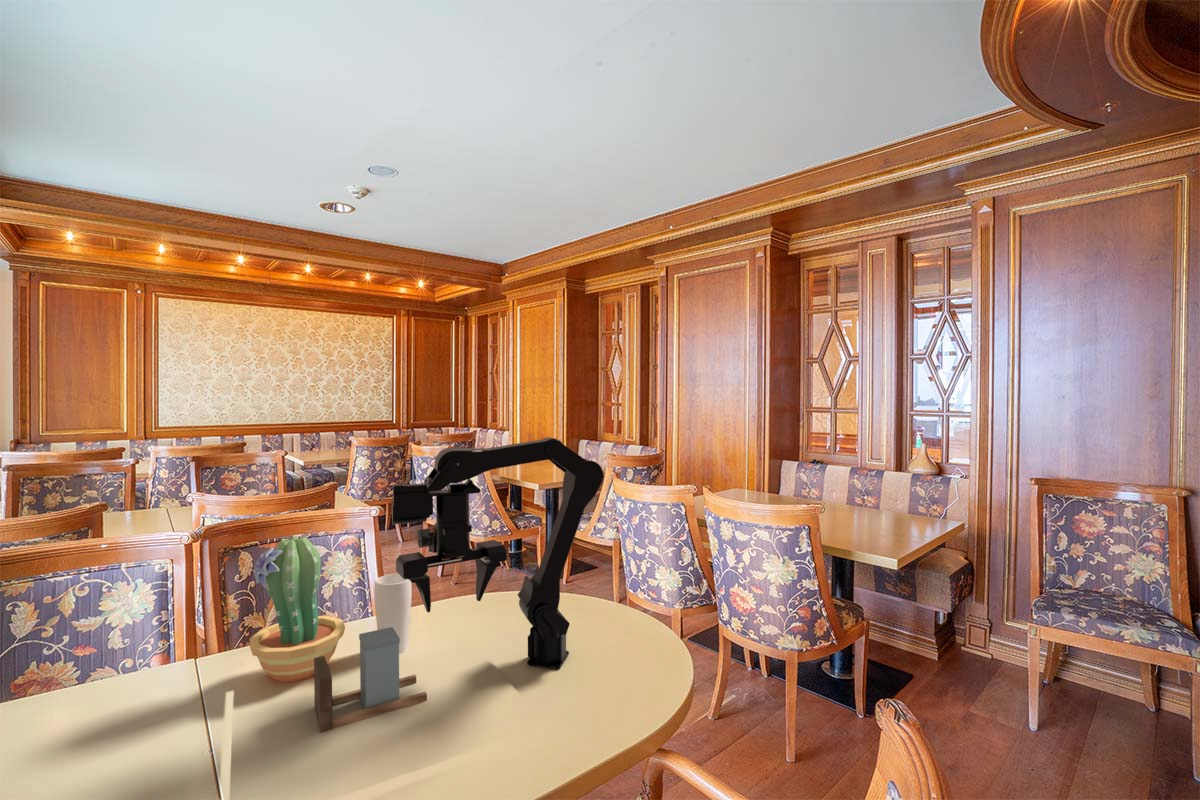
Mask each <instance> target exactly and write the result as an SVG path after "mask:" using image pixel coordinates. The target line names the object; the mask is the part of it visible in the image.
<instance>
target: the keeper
mask: <svg viewBox="0 0 1200 800" xmlns="http://www.w3.org/2000/svg"><path fill="white" fill-rule="evenodd" d="M358 637H359V638H358V640H359V662H360V663H359V664H360V665H359V666H360V667H359V668H360V670H359V671H360V672H359V675H360V677H359V678H360V681H359V684H360V688H359V689H361V698H360V701H361V703H362V705H363V709H366V708H369V707H373V706H376V705H380V704H383V703H387V702H390V701H394V700H397V699H400V687H399V679H400V654H399V643H400V638H399V636H398V635H397V633H396V632H395V630H394V629H393V627H390V628H385V629H380V630H371V631H367V632H363V633H359V634H358Z"/></svg>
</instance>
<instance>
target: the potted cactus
mask: <svg viewBox="0 0 1200 800" xmlns="http://www.w3.org/2000/svg"><path fill="white" fill-rule="evenodd" d="M321 561H322V555H321V554H320V552H319V551H318V548H316V546H315V545H314V544H313V543H312V542H311V541H310V540H309V539H308V538H307V537H306V536H301V537H298V536H295V535H294V536H292V537H291V538H290V539H288V538H282V539H281V540H280V541H279V542H278V543H277V546H276V548H275V547H272V548H270V549H268V550H266V551H265V552H263V553H262V554H260V556H259V557H258V558H257V560H256V563H255V564H254V566H253V571H252V572H253V576H254V577H255V584H257V585H258V584H259V583H260V584H261V585H262V587H264V588H265V589H266V590H265V591H266V592H267V594H268V596H269V598H270V600H271V601H272V604H273V606H274V610H275V615H276V619H277V623H274V624H272V625H269V626H266V627H263V628H261V629H260V630H259V631H258V632H256V633H255V634H254V635H252V636H251V637H250V638H249V647H250V651H251V652H250V653H251V654H252V656H255V657H257V660H258V662H259V664H260V666H261V668H262V670H263V671H264V672H265V674H267V675H268V676H269V677H270V678H271V679H272V680H275V681H278V682H279V683H280V682H281V683H282V682H283V683H285V682H290V683H291V682H297V681H301V680H304V679H308V678H311V677H312V676H313V677H314V658H317V657H321V656H325V659H326V662H327V664H328V663H329V661H330V660H331V659H332V657H333V656H334V654H335V652H336V648H337V646H338V644H339V640H340V639H341V638H342V637H343V636H344V635H345V634H344V633H345V630H346V625H345V623H344V622H343V619H341V618H338V617H335V616H334V617H333V616H330V615H319V612H318V610H319V608H318V599H317V592H318V588H319V583H320V580H321V564H322V562H321Z"/></svg>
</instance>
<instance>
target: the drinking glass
mask: <svg viewBox="0 0 1200 800" xmlns="http://www.w3.org/2000/svg"><path fill="white" fill-rule="evenodd" d="M412 590H413V589H412V582H411V581H410V580H409V579H403V578H402V577H401V576H400V575H399V574H398V573H390V574H385V575H382V576H379V577H378V578H376V579H375V580H374V609H375V610H374V611H375V619H376V627H377V628H376V629H377V630H380V629H385V628H390V627H393V629H394V630H395V632H396V633H397V635H398V636H399V638H400V643H399V655H401V654H404V653H405V652H407V651H408V649H409V639H410V638H409V637H410V636H409V634H410V622H411V612H412V611H411V609H412V595H413V594H412V592H413V591H412Z"/></svg>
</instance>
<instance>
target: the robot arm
mask: <svg viewBox="0 0 1200 800" xmlns="http://www.w3.org/2000/svg"><path fill="white" fill-rule="evenodd" d="M547 460H549V461H550V463H552V464H553V465H554V466H556V468H557V469H559V470H560V471H562V472H563V474H564V475H563V480H562V500H561V504H560V506H559V509H558V513H557V516H556V517H555V521H554V523H553V527H552V529H551V532H550V535H549V538H548V541H547V544H546V547H545V549H544V552H543V556H542V558H541V560H540V563H539V567H538V569H537V571H536V572H535V573H534V575H532V577H530V576H528V575H524V578H523V580H522V581H523V582H522V586H521V589H520V591H519V592H518V593H517V596H518V598H519V600H518V606H519V608H520V611H521V612H522V613H523V615H524V616H525V618H526V619H527V621H528V622H529V623H530V625H531V626H532V627H530V629H529V634H528V636H527V657H528V660H527V661H526V665H527V666H530V667H538V668H547V669H555V670H556V669H557V670H558V669H561V667H562V666H563V664H564V663H565V661H566V660H567V657H569V655H570V651H569V650H567V633H568V629H569V627H570V622H569V621H568V619H566V618H565V616H564V615H563V614H562V612H560V610H559V605H560V600H561V578H562V575H563V572H564V569H565V566H566V563H567V560H568V557H569V555H570V551H571V549H572V545H573V543H574V541H575V538H576V535H577V531H578V528H579V526H580V523H581V519H582V517H583V514H584V511H585V509H586V507H587V506H588V505H589V504H590V502H592V501H593V499H594V498H595V497H596V494H597V493H598V491H599V489H600V487H601V486H602V483H603V482H604V477H605V474H604V473H605V472H604V470H603V468H602V466H601V465H600V464H599V463H597V462H596V461H594V460H591V459H587V458H584V457H583V456H581V455H579V454H577V453H576V452H575V451H573V450H572V449H571V448H569V447H568V446H566V445H565V444H564V443H563V442H562V441H561V440H560V439H557V438H555V437H551V436H550V437H547V436H546V437H544V438H541V439H537V440H531V441H525V442H520V443H512V444H506V445H500V446H494V447H493V446H492V447H487V448H475V447H474V448H473V447H446V448H444V449H441V450H440V451H439V452H438V454H437V455H436V456H435V459H434V467H433V468H432V470H431V471H430V472H429V474H428V475H427V477H426V478H425V479H424V481H423V483H412V484H411V483H410V484H407V483H406V484H404V483H395V484H393V485H392V500H391V522H392V525H403V524H412V523H413V524H414V523H425V522H427V520H428V519H429V518H431V516H434V497H435V500H436V501H435V504H436V505H435V509H436V512H435V513H436V519H435V520H436V523H434V526H433V528H434V529H433V532H431V528H423V529H418V530H417V546H418V548H420V549H422V548H427V547H428V548H427V549H428V552H429V553H433V554H435V555H430V556H429V555H428V556H425V555H424V554H422V553H421V552H419V551H417V552H411V553H406V554H405V553H404V554H399V556H398V557H397V558H396V560H395V572H396V573H397V574H399V575H400V576H401V577H402V578H403V579H409V580H410V581H411V584H412V583H414V584H415V586H416V588H417V590H418V592H419V595H420V597H421V601H422V604H423V606H424V608H425V611H426V613H429V614H430V613H431V610H432V609H431V608H432V602H431V601H432V598H431V580H430V576H429V575H428V574H427V573H428V572H429V568H435V567H440V566H441V567H442V566H446V565H453V564H457V563H464V562H469V561H473V560H474V562H475V566H476V583H475V597H476V598H475V599H476V600H477V602H481V601H482V599H483V595H484V593H485V591H486V589H487V588H488V587H487V586H488V585H489V583H490V580H491V578H492V576H493V575H494V573H495V571H496V569H497V568H499V567H502V562H507V561H508V560H509V559H508V556H509V555H508V548H507V547H506V545H505V544H503V543H501V542H499V541H497V540H496V539H492V540H485V541H479V542H477V544H476V545H475V548H472V547H470V545H471V544H470V533H471V532H472V531H473V529H472V528H473V526H472V525H470V495H471V494H480V493H481V488H479V487H478V486H477V485H475V483H474V482H473V480H472V479H473V478H475V477H478V476H480V475H481V474H483V473H485V472H489V471H491V470H496V469H501V468H502V469H503V468H509V467H513V466H519V465H525V464H530V463H536V462H537V463H538V462H541V461H547ZM464 481H465V482H464ZM462 482H464V483H462ZM446 487H447V488H446Z"/></svg>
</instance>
